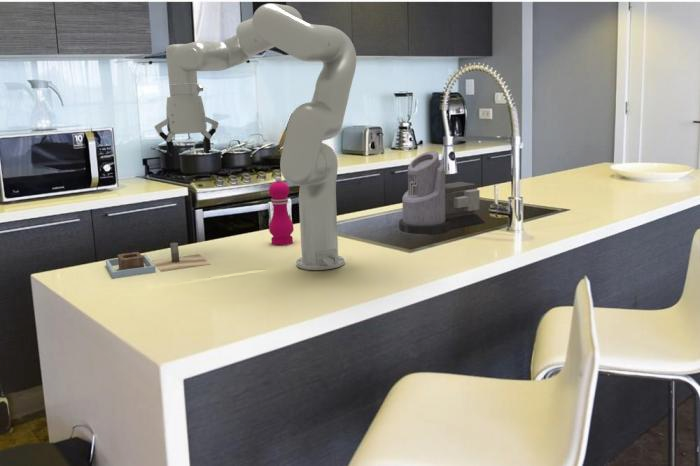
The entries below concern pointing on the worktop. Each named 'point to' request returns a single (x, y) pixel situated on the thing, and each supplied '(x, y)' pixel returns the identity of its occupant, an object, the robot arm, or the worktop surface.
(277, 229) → the pepper mill
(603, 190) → the worktop surface
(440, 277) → the worktop surface
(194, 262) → the stake board
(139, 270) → the tray
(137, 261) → the collar
